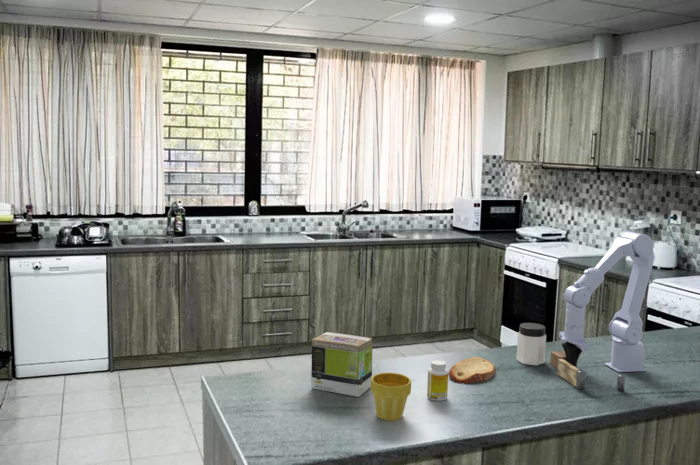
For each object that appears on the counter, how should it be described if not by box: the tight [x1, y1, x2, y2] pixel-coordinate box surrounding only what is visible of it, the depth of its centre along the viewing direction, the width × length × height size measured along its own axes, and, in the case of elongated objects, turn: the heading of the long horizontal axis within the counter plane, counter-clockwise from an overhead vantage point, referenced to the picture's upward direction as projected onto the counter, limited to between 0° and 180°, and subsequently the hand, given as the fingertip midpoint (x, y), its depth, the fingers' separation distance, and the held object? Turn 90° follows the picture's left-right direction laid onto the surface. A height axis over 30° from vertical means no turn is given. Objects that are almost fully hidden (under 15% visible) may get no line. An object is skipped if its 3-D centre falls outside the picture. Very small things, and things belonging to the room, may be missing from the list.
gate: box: [556, 359, 580, 387], centre depth 198 cm, size 11×2×5 cm, turn 11°
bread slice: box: [448, 356, 496, 385], centre depth 204 cm, size 18×18×4 cm
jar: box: [515, 322, 547, 366], centre depth 215 cm, size 9×8×12 cm
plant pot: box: [370, 372, 412, 421], centre depth 169 cm, size 10×10×10 cm
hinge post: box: [575, 369, 587, 392], centre depth 191 cm, size 2×2×6 cm
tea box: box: [310, 331, 373, 398], centre depth 187 cm, size 15×10×15 cm, turn 65°
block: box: [549, 350, 578, 369], centre depth 212 cm, size 6×6×4 cm
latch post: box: [616, 374, 626, 392], centre depth 191 cm, size 2×2×4 cm
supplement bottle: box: [426, 359, 449, 402], centre depth 182 cm, size 6×6×10 cm
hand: (571, 366), depth 208 cm, fingers closed
